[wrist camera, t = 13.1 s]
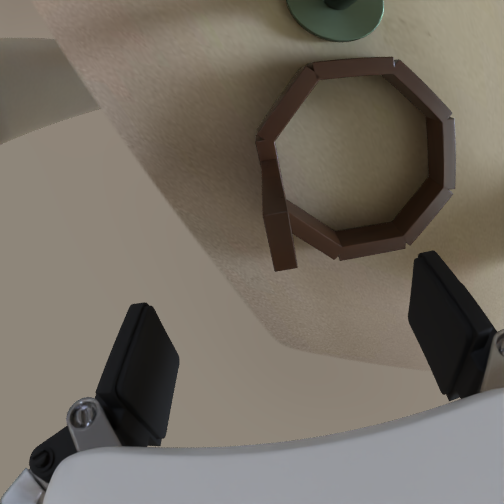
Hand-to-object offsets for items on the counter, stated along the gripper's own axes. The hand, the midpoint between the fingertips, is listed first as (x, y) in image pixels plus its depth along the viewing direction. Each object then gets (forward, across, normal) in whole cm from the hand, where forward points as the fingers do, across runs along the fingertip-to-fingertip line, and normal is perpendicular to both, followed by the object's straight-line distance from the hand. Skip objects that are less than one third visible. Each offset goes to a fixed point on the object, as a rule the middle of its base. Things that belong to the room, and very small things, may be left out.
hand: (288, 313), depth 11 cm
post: (+18, -8, -14) cm, 24 cm away
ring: (+18, -8, 0) cm, 20 cm away
